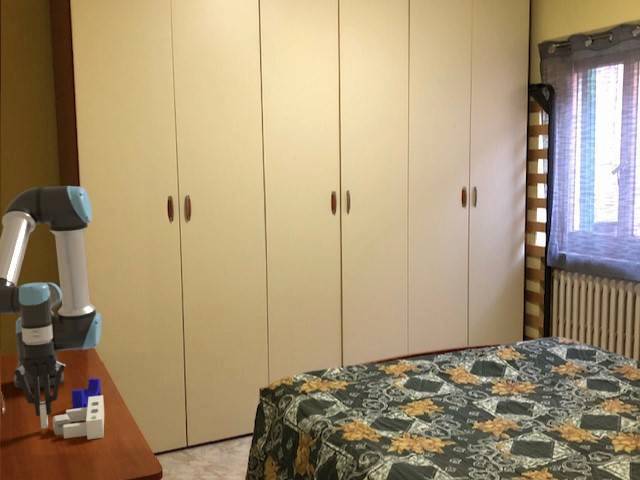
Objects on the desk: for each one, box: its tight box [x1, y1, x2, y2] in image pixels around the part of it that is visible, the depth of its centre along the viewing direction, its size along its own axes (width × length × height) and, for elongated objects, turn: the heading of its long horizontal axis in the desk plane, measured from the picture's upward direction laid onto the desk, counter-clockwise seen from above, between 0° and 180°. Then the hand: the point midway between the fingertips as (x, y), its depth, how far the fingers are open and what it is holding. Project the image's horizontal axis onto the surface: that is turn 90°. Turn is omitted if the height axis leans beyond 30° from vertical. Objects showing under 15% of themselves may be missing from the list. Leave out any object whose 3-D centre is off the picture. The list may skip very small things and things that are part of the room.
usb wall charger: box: [52, 413, 71, 436], centre depth 194 cm, size 4×7×4 cm, turn 25°
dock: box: [63, 394, 105, 440], centre depth 196 cm, size 20×10×5 cm, turn 16°
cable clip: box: [71, 377, 102, 409], centre depth 215 cm, size 12×4×6 cm, turn 171°
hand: (44, 426), depth 193 cm, fingers closed
